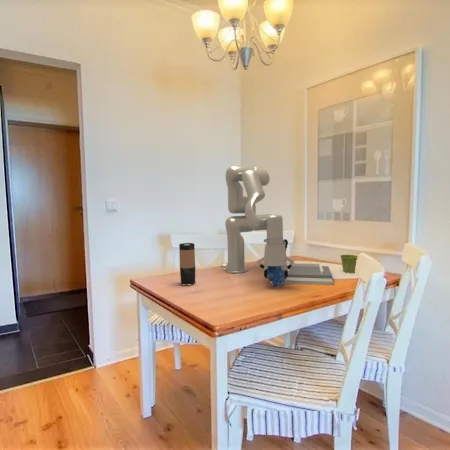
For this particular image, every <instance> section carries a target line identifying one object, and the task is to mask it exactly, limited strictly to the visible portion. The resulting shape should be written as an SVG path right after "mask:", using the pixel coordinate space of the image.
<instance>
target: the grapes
mask: <svg viewBox="0 0 450 450" xmlns="http://www.w3.org/2000/svg"><path fill="white" fill-rule="evenodd" d="M284 274H285V272H284V271H283V270H282V269H281V266H268V267H267V276H268V277H267V280H268V281H269V282H271V284H272V286H274V287H280V288H281V287H282V286H283V284H285V283H284V282H285V278H284V277H283V276H284Z"/></svg>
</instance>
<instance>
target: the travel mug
mask: <svg viewBox="0 0 450 450" xmlns="http://www.w3.org/2000/svg"><path fill="white" fill-rule="evenodd" d="M195 249H196V248H195V243H194V242H184V243H179V245H178V250H179V252H178V253H179V274H180V284H194V283H195V284H196V253H195ZM195 284H194V285H195Z"/></svg>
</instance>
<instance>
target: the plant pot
mask: <svg viewBox="0 0 450 450" xmlns="http://www.w3.org/2000/svg"><path fill="white" fill-rule="evenodd" d="M339 257H340V260H341V264H342V272H344V273H347V272H351V273H355V272H356V267H355V266H356V265H357V261H356V260H358V258H359V255H354V254H340V256H339ZM357 257H358V258H357ZM354 271H355V272H354Z"/></svg>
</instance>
